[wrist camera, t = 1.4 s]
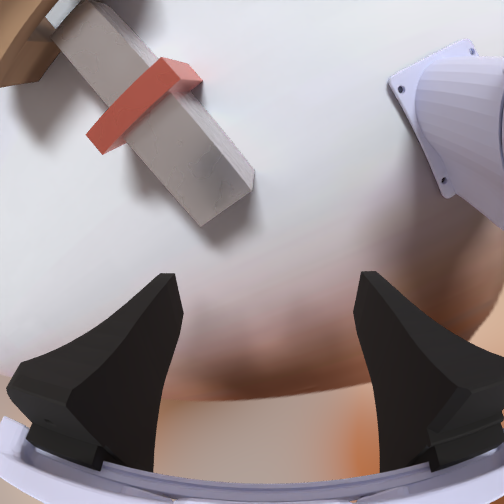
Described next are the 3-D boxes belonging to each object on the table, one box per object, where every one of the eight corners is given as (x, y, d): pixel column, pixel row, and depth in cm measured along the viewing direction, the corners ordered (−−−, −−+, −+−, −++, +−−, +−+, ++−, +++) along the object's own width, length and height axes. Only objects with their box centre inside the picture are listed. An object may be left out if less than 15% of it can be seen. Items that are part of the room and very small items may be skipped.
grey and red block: (267, 161, 18) (268, 186, 14) (201, 209, 20) (183, 245, 16) (121, -6, 13) (83, -25, 8) (67, 51, 14) (20, 51, 10)
